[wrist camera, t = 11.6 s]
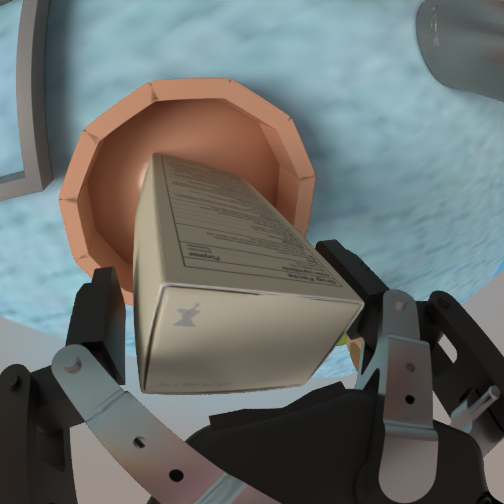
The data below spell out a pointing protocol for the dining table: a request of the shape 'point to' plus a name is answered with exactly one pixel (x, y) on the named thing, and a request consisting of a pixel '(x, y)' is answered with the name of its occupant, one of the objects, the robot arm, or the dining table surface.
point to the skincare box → (227, 287)
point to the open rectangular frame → (30, 104)
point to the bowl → (183, 147)
